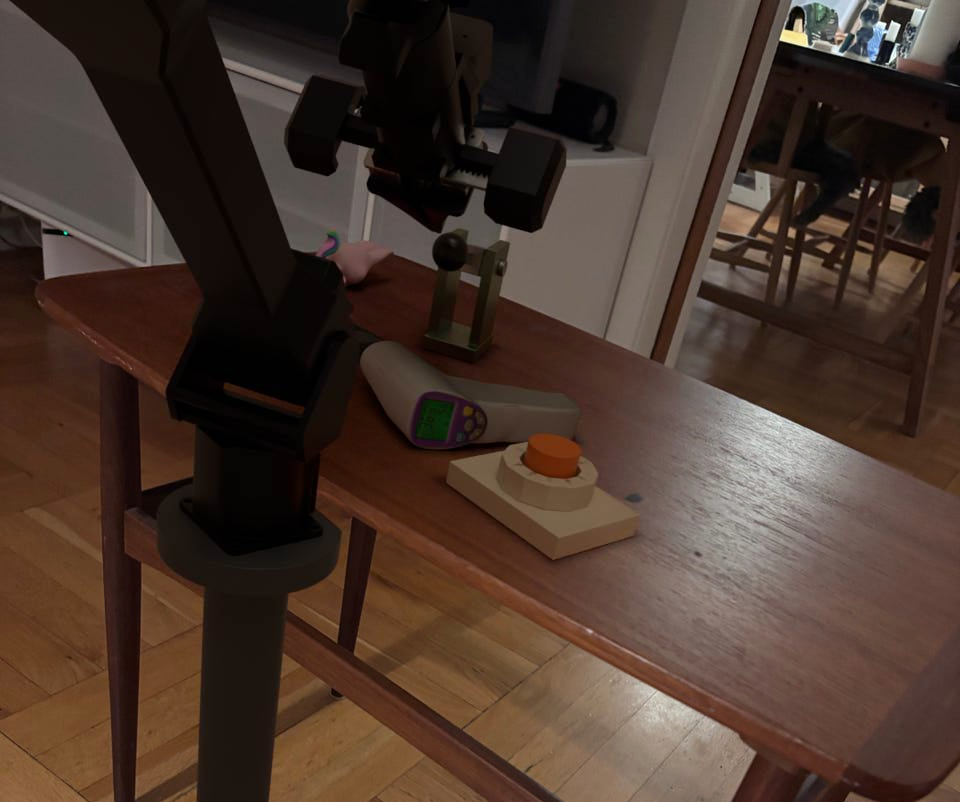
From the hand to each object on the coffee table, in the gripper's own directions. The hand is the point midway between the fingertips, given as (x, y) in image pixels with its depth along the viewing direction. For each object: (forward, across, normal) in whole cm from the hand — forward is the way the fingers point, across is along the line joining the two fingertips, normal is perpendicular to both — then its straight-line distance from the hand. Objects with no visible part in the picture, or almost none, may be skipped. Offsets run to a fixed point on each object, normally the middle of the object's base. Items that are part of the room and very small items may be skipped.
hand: (438, 227), depth 75 cm
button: (-4, -15, +17) cm, 23 cm away
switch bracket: (+18, 0, +1) cm, 18 cm away
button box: (-2, -15, +20) cm, 25 cm away
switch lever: (+9, 0, -2) cm, 9 cm away
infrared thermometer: (+7, -6, +12) cm, 14 cm away
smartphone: (+13, +12, +5) cm, 19 cm away
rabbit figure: (+23, +15, -4) cm, 28 cm away
